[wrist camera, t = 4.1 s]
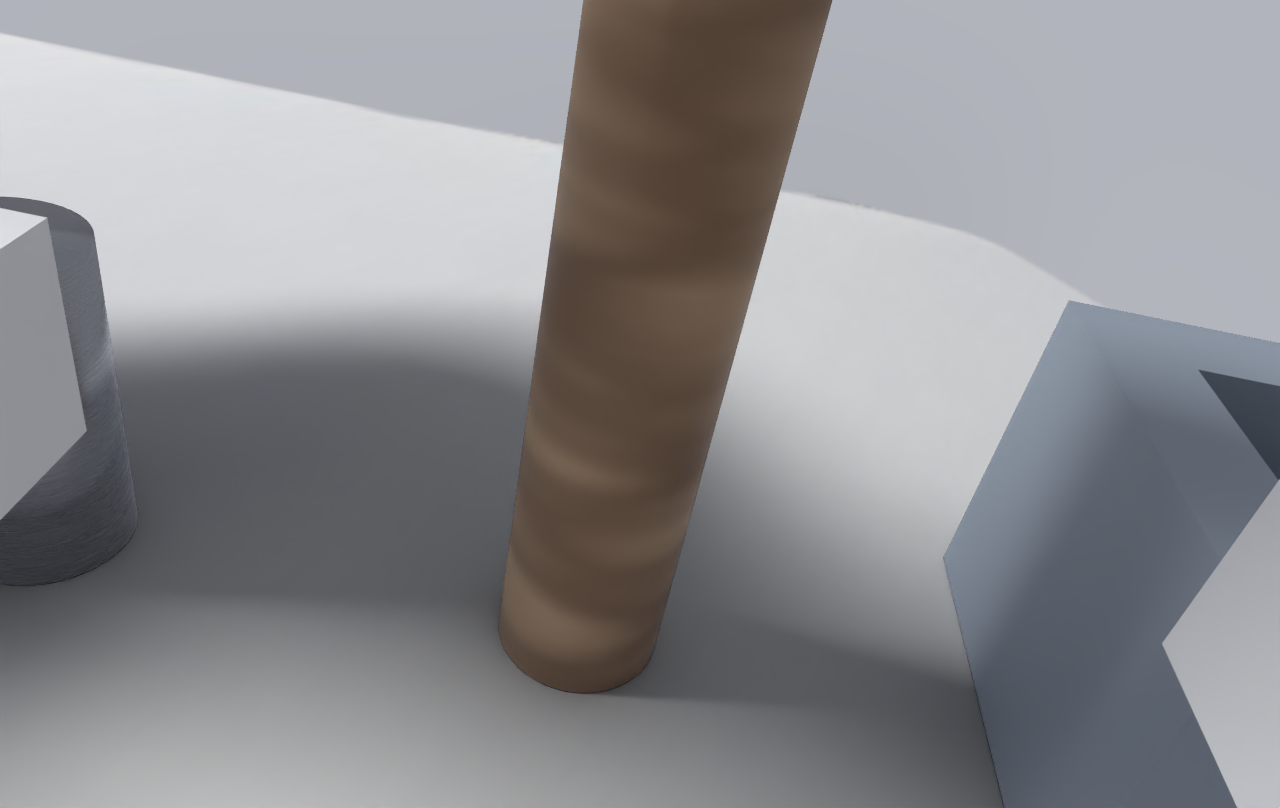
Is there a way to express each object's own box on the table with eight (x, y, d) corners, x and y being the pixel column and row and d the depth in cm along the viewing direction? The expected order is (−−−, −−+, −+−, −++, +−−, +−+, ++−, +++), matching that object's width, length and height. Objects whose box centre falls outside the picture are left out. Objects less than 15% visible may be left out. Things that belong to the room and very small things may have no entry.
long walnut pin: (482, 675, 23) (651, -635, 11) (515, 558, 26) (673, -545, 14) (648, 706, 23) (1007, -555, 11) (660, 586, 26) (945, -484, 14)
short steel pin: (-88, 567, 23) (-194, 261, 18) (18, 463, 26) (-49, 183, 21) (83, 599, 23) (20, 303, 18) (167, 491, 26) (131, 219, 22)
